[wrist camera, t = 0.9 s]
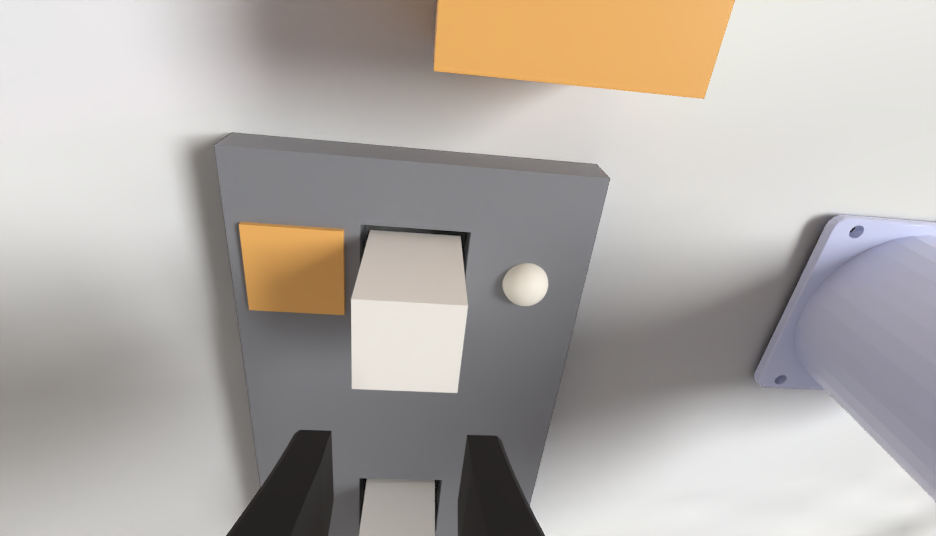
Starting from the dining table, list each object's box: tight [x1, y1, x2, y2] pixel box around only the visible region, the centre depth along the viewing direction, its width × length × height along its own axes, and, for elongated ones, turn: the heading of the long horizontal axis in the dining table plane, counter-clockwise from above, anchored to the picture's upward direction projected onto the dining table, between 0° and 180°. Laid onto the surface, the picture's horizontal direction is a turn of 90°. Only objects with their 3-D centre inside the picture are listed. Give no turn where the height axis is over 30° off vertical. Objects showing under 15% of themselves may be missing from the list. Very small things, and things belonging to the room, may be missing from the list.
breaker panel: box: [214, 133, 610, 536], centre depth 20 cm, size 12×20×2 cm, turn 174°
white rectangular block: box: [351, 230, 468, 393], centre depth 16 cm, size 3×3×4 cm
